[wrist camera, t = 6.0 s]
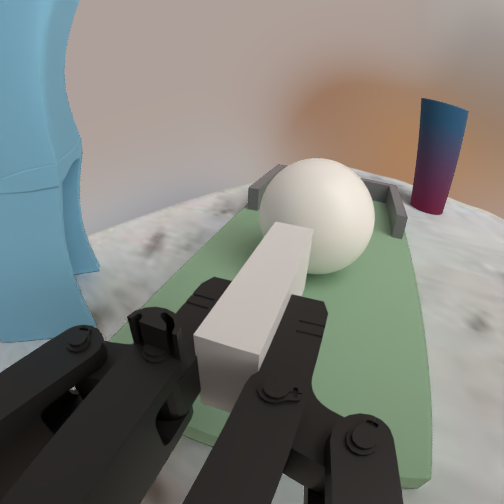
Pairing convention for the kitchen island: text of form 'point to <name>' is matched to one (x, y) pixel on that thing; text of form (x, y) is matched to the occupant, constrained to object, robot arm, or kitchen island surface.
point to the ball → (322, 210)
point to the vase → (39, 177)
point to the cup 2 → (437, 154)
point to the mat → (338, 336)
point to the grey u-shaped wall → (375, 188)
